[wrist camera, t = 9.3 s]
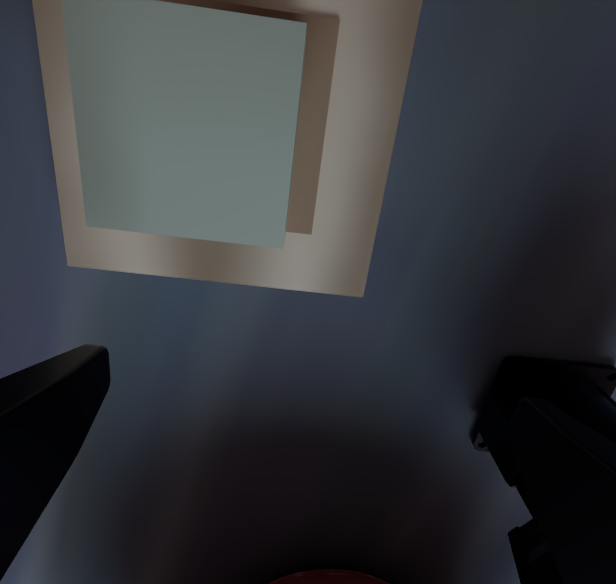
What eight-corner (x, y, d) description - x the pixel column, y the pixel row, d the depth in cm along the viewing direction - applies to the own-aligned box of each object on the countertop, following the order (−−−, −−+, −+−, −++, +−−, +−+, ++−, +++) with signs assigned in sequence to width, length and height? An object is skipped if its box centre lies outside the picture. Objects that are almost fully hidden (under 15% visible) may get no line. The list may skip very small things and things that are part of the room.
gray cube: (305, 50, 13) (307, 23, 8) (288, 204, 15) (283, 249, 11) (146, 27, 13) (60, -14, 8) (152, 188, 15) (86, 226, 10)
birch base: (411, -35, 15) (438, -70, 12) (354, 270, 20) (363, 299, 17) (69, -91, 14) (8, -142, 11) (101, 242, 19) (64, 267, 16)
